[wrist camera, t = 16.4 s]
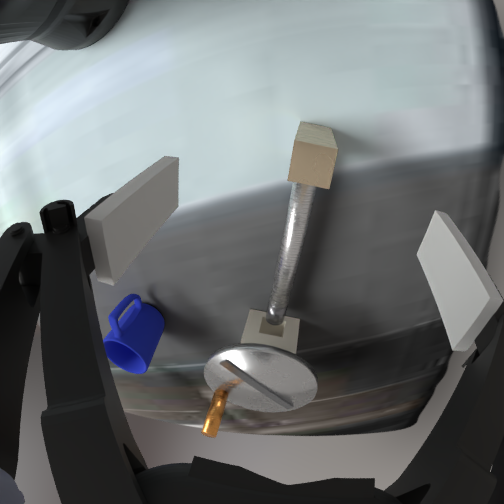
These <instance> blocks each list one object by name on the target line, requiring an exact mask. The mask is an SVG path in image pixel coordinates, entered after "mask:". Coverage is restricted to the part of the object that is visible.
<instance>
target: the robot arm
mask: <svg viewBox="0 0 504 504" xmlns="http://www.w3.org/2000/svg"><path fill="white" fill-rule="evenodd" d="M128 1H129V0H0V44H3V43H9V42H16V41H23V40H31V41H34V42H37V43H40V44H42V45H45V46H47V47H50V48H53V49H56V50H77V49H82V48H85V47H87V46H89V45H91V44H93V43H95V42H96V41H98V40H99V39H101V38H102V37H103V36H104V35H105V34H106V33H107V32H108V31H109V30H110V29H111V28H112V27H113V26H114V25H115V23H116V22H117V21H118V19H119V18H120V16H121V15H122V13H123V11H124V10H125V8H126V6H127V3H128ZM178 174H179V157H170V156H164V157H163V158H161V159H160V160H158V161H157V162H156V163H154V164H153V165H151V166H150V167H148V168H147V169H146V170H144V171H143V172H141V173H140V174H139V175H137V176H136V177H135V178H133V179H132V180H130V181H129V182H128V183H126V184H125V185H124V186H122V187H121V188H120V189H119V190H117V191H116V192H115V193H111V194H109V195H107V196H105V197H102V198H101V199H100V200H99V201H97V202H96V203H95V204H93V205H92V206H91V207H90V209H87V210H86V211H85V212H84V213H82V214H81V215H80V216H79V217H77V218H76V214H75V209H74V204H73V202H72V201H70V200H58V201H54V202H51V203H49V204H47V205H46V206H44V207H43V208H42V209H41V211H40V217H41V221H42V225H43V229H44V233H40V234H33V231H32V227H31V225H30V223H27V222H21V223H15V224H13V225H11V227H9V228H8V229H7V230H6V231H5V232H4V233H3V235H2V236H1V238H0V504H24V502H25V500H24V496H23V494H22V492H21V491H19V489H18V487H17V485H16V483H15V481H14V480H15V475H16V469H17V462H18V451H19V435H20V421H21V410H22V401H23V400H22V399H23V393H24V386H25V379H26V373H27V367H28V361H29V356H30V351H31V346H32V341H33V337H34V332H35V329H36V325H37V321H38V317H39V313H40V327H41V348H42V361H43V372H44V381H45V389H46V396H47V404H48V407H47V410H45V411H42V415H41V426H42V431H43V436H44V441H45V446H46V451H47V455H48V459H49V463H50V467H51V471H52V474H53V477H54V481H55V485H56V488H57V491H58V494H59V497H60V500H61V503H62V504H504V299H503V298H502V296H501V294H500V292H499V290H497V287H496V285H495V284H494V283H493V280H492V279H491V277H490V275H489V274H488V273H487V271H486V270H485V268H484V267H483V265H482V263H481V262H480V260H479V259H478V257H477V256H476V254H475V253H474V251H473V250H472V248H471V247H470V245H469V244H468V242H467V241H466V239H465V238H464V236H463V235H462V234H461V232H460V231H459V229H458V228H457V227H456V225H455V224H454V223H453V221H452V220H451V219H450V217H449V216H448V215H447V214H446V213H443V212H440V211H436V210H435V212H434V215H433V217H432V220H431V222H430V225H429V227H428V229H427V232H426V234H425V236H424V239H423V241H422V243H421V246H420V248H419V250H418V252H417V256H418V259H419V261H420V263H421V266H422V268H423V270H424V273H425V275H426V277H427V280H428V282H429V285H430V287H431V290H432V292H433V295H434V298H435V300H436V303H437V306H438V308H439V311H440V314H441V317H442V320H443V323H444V325H445V328H446V331H447V335H448V338H449V341H450V344H451V347H452V350H455V351H467V349H468V348H469V347H470V346H471V345H472V343H473V342H474V341H475V344H476V346H477V349H476V350H475V351H474V352H473V353H472V355H471V356H470V357H469V358H468V360H466V362H465V363H464V364H463V365H462V367H464V366H465V365H467V366H466V368H465V371H464V373H463V375H462V377H461V379H460V381H459V383H458V385H457V387H456V389H455V391H454V393H453V395H452V396H451V398H450V400H449V402H448V404H447V406H446V408H445V409H444V411H443V413H442V415H441V416H440V418H439V420H438V422H437V423H436V425H435V426H434V428H433V430H432V431H431V433H430V434H429V436H428V438H427V439H426V441H425V442H424V444H423V446H422V447H421V448H420V450H419V451H418V453H417V454H416V456H415V457H414V459H413V460H412V461H411V463H410V464H409V465H408V467H407V468H406V469H405V471H404V472H403V473H402V475H401V476H400V477H399V478H398V480H396V481H395V482H394V483H393V484H392V485H391V486H389V487H388V488H387V489H385V490H384V491H383V490H380V489H378V488H375V487H374V486H375V479H374V478H371V479H370V478H366V479H365V478H360V479H358V478H356V479H355V478H353V479H352V478H332V479H326V480H321V481H315V482H308V483H302V484H294V485H285V484H282V483H279V482H276V481H274V480H271V479H268V478H266V477H263V476H261V475H258V474H256V473H254V472H251V471H249V470H247V469H244V468H242V467H240V466H235V465H230V464H225V463H221V462H216V461H213V460H209V459H205V458H201V457H197V456H194V458H193V461H192V463H176V464H167V465H161V466H157V467H153V468H150V469H148V467H147V465H146V463H145V460H144V458H143V456H142V454H141V452H140V450H139V448H138V446H137V444H136V442H135V440H134V438H133V435H132V433H131V430H130V428H129V425H128V422H127V419H126V417H125V414H124V411H123V408H122V405H121V402H120V399H119V396H118V393H117V390H116V386H115V383H114V380H113V376H112V373H111V369H110V366H109V362H108V358H107V355H106V351H105V347H104V343H103V339H102V334H101V330H100V325H99V321H98V316H97V311H96V306H95V301H94V295H93V290H92V284H91V279H90V276H89V275H90V274H91V272H92V271H93V270H94V269H95V271H96V275H97V279H98V281H100V282H104V283H107V284H110V285H115V284H116V282H117V281H118V280H119V278H120V277H121V276H122V274H123V273H124V272H125V271H126V269H127V268H128V267H129V265H130V264H131V263H132V262H133V260H134V259H135V258H136V257H137V255H138V254H139V253H140V252H141V250H142V249H143V248H144V247H145V245H146V244H147V243H148V242H149V241H150V239H151V238H152V237H153V236H154V234H155V233H156V232H157V231H158V230H159V229H160V227H161V226H162V225H163V224H164V223H165V221H166V220H167V219H168V218H169V217H170V216H171V214H172V213H173V212H174V211H175V210H176V209H177V207H178ZM491 466H492V469H491ZM490 469H491V472H490Z"/></svg>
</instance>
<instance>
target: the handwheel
mask: <svg viewBox="0 0 504 504" xmlns="http://www.w3.org/2000/svg"><path fill="white" fill-rule="evenodd" d="M204 377H205V380H206V382H207V384H208V385H209V387H210V388H211V389H212V390H213V391H214V395H213V398H212V401H211V405H210V408H209V411H208V414H207V417H206V420H205V423H204V426H203V429H202V432H201V433H202V434H203V435H205V436H208V437H213V438H214V437H216V435H217V432H218V429H219V425H220V422H221V419H222V415H223V412H224V408H225V405H226V402H227V401H229V402H231V403H233V404H235V405H238V406H240V407H244V408H247V409H251V410H256V411H263V412H284V411H290V410H294V409H297V408H300V407H302V406H304V405H306V404H308V403H309V402H310V401H311V400H312V399H313V398H314V397H315V395H316V392H317V384H318V379H317V374H316V372H315V370H314V369H313V368H312V366H311V365H310V364H309V363H308V362H307V361H305V360H304V359H303V358H301V357H299V356H298V355H296V354H294V353H292V352H290V351H287V350H284V349H282V348H278V347H274V346H270V345H265V344H256V343H240V344H233V345H228V346H225V347H222V348H220V349H218V350H216V351H215V352H214V353H212V354H211V356H210V357H209V358H208V361H207V363H206V366H205V369H204Z"/></svg>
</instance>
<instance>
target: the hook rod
mask: <svg viewBox="0 0 504 504" xmlns="http://www.w3.org/2000/svg"><path fill="white" fill-rule="evenodd" d="M337 153H338V147H337V144H336V141H335V138H334V136H333V133H332V130H331V128H329V127H324V126H320V125H315V124H310V123H305V122H300V124H299V127H298V130H297V134H296V137H295V140H294V146H293V152H292V158H291V164H290V169H289V175H288V181H292V182H293V186H292V191H291V197H290V202H289V207H288V212H287V217H286V223H285V228H284V233H283V238H282V243H281V248H280V253H279V258H278V263H277V267H276V272H275V277H274V282H273V287H272V291H271V296H270V300H269V304H268V308H267V313H266V321H267V322H268V323H269V324H271V325H280V324H282V323H283V321H284V318H285V314H286V310H287V307H288V301H289V298H290V294H291V290H292V286H293V283H294V279H295V275H296V271H297V267H298V263H299V259H300V255H301V251H302V247H303V243H304V239H305V235H306V230H307V226H308V222H309V218H310V213H311V209H312V205H313V200H314V196H315V191H316V187H321V188H325V189H329V188H330V183H331V179H332V175H333V170H334V166H335V162H336V157H337Z"/></svg>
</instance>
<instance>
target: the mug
mask: <svg viewBox="0 0 504 504" xmlns="http://www.w3.org/2000/svg"><path fill="white" fill-rule="evenodd" d="M133 300H134V301H135V304H134V305H133V306H131V307H130V308H129V309H128V310H127V312H126V313H125V314H124V315H123V316H122V318H121V319H120V320H119V321H118V318H119V316H120V315H121V314H122V312H123V311H124V310H125V308H126V307H127V306H128V305H129V304H130V303H131V302H132V301H133ZM108 318H109V322H110V325H111V328H112V330H111V331H110V332H109V334H108V335H107V336H106V337H105V339H104V340H103V343H104V347H105V351H106V355H107V357H108V358H109V359H110V360H111V361H112V362H113V363H114V364H115V365H117V366H118V367H120V368H122V369H124V370H126V371H128V372H131V373H136V374H142V373H145V372H146V371H147V369H148V367H149V364H150V362H151V359H152V357H153V354H154V352H155V349H156V347H157V345H158V342H159V340H160V337H161V335H162V333H163V330H164V325H165V323H164V319H163V317H162V315H161V314H160V312H159V311H158V310H157V309H155V308H154V307H152V306H151V305H148V304H145V303H142V301H141V298H140V296H139V295H137V294H130V295H128V296H126V297H125V298H124V299H123V300H122V301H121V302H120V303H119V304H118V305H117V307H116V308H115V309H114V310H113V311H112V312H111V314H110V315H109V317H108Z"/></svg>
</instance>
